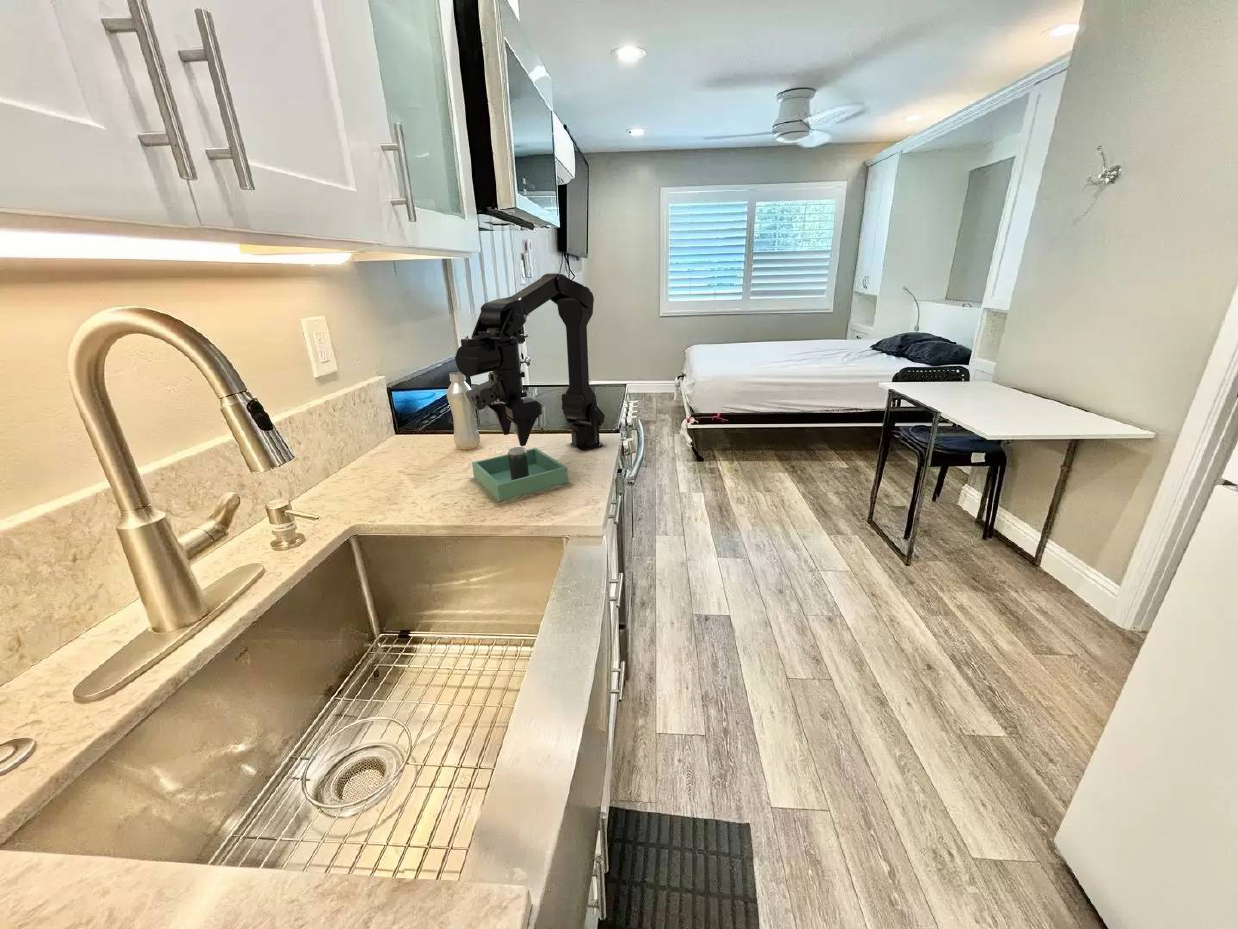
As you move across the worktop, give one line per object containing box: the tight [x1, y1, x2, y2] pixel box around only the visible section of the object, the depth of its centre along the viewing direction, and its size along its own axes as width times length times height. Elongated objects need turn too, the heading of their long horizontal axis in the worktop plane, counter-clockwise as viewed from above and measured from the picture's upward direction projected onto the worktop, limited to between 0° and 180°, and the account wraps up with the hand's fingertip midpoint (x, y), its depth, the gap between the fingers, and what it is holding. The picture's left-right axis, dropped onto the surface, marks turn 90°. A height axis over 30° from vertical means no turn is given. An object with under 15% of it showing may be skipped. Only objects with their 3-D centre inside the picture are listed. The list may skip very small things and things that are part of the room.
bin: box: [471, 447, 569, 502], centre depth 107 cm, size 16×16×4 cm
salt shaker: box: [507, 446, 529, 480], centre depth 107 cm, size 4×4×7 cm
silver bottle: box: [446, 371, 481, 450], centre depth 127 cm, size 6×7×20 cm
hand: (514, 440), depth 105 cm, fingers open, 9 cm apart
